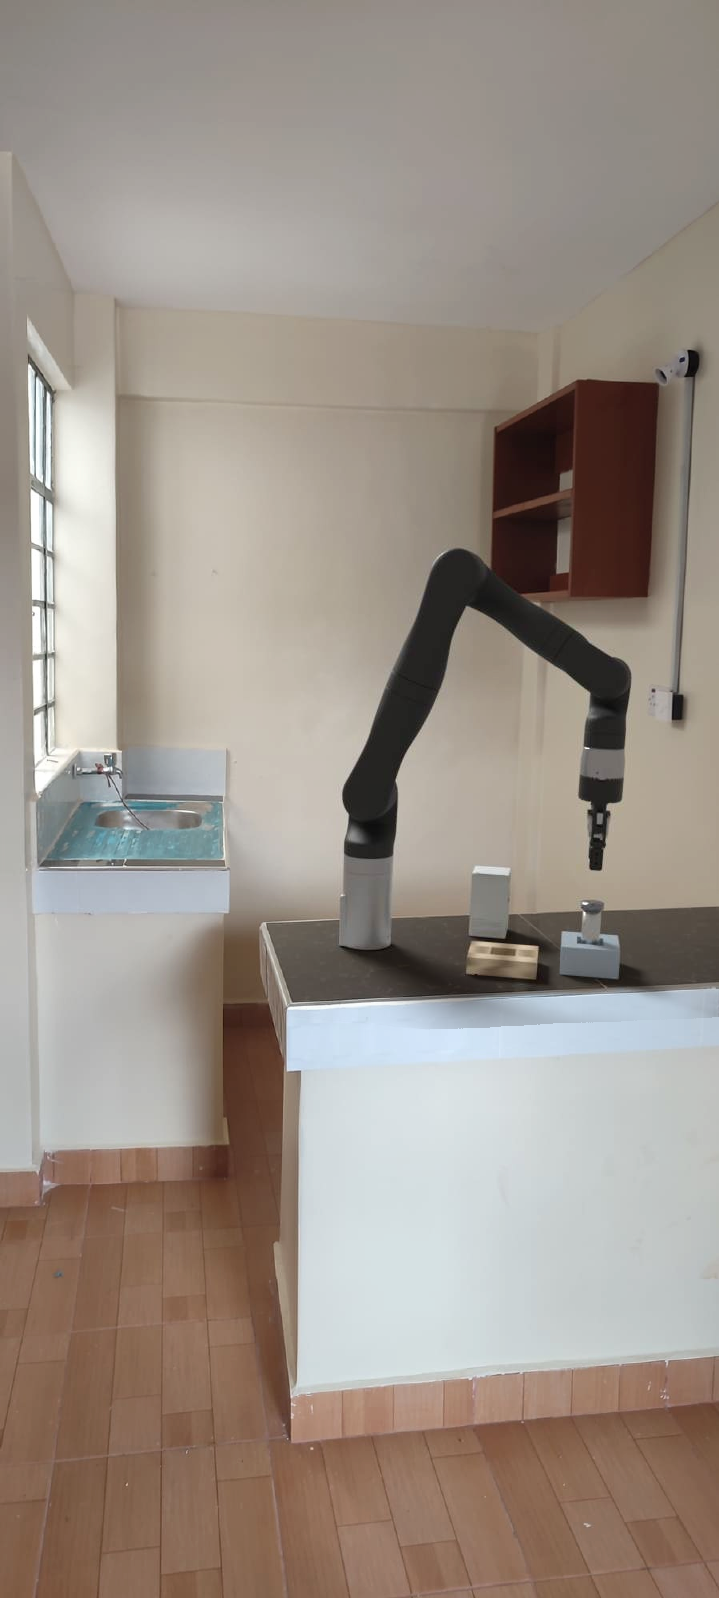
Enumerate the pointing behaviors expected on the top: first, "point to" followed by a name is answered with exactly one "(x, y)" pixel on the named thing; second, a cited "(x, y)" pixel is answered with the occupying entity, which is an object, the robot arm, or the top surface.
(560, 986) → the top surface
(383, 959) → the top surface
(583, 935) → the pin
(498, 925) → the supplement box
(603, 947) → the socket
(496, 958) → the mount
